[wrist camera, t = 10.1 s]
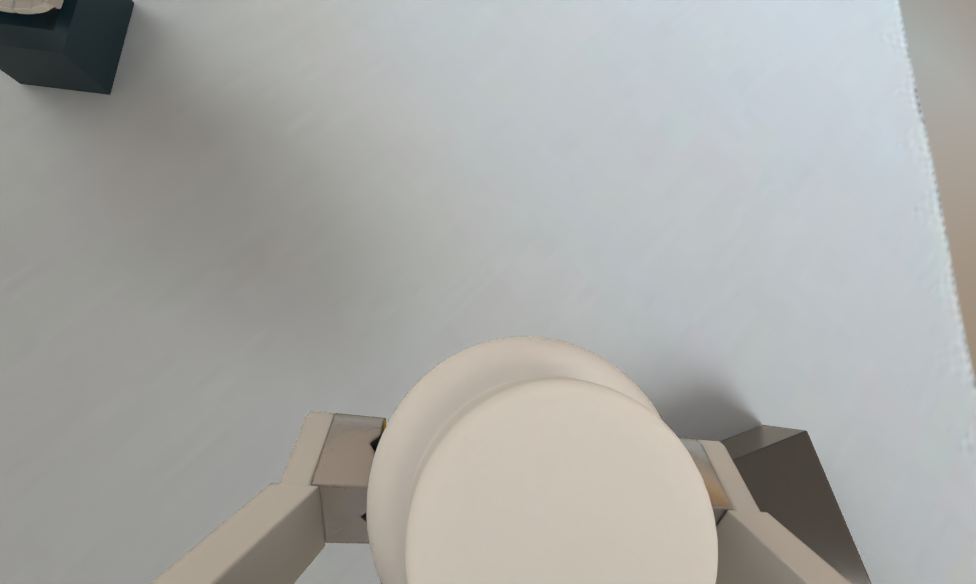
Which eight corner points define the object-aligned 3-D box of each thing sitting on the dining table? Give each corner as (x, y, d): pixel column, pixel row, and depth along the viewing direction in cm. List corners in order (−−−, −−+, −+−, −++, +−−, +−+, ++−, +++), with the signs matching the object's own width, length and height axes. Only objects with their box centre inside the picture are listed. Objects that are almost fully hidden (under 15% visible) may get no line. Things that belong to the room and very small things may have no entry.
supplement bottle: (388, 374, 16) (304, 354, 6) (547, 344, 16) (717, 282, 6) (414, 551, 15) (368, 897, 5) (582, 511, 16) (844, 737, 6)
